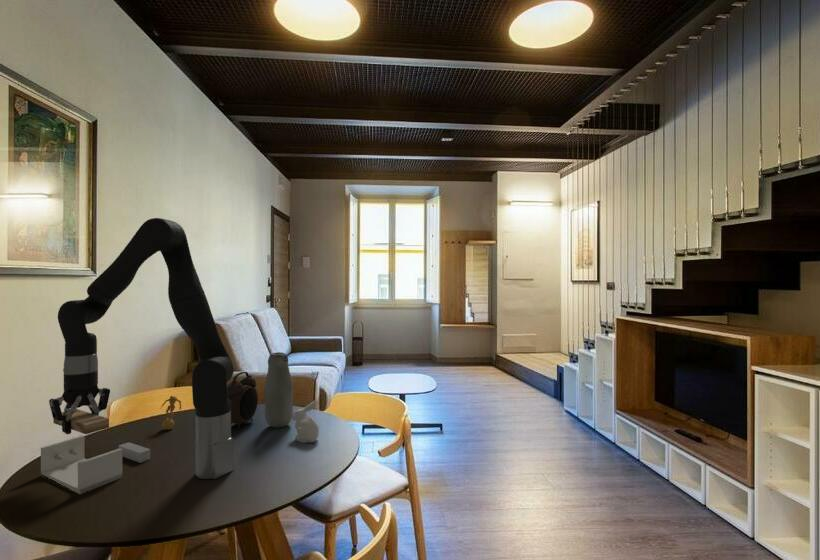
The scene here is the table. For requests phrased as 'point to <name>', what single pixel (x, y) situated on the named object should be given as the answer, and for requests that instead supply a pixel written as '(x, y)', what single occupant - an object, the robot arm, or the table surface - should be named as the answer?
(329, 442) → the table surface
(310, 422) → the rabbit
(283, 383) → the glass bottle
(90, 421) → the shelf board
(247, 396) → the alarm clock
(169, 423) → the figurine
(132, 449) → the block
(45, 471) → the shelf frame
